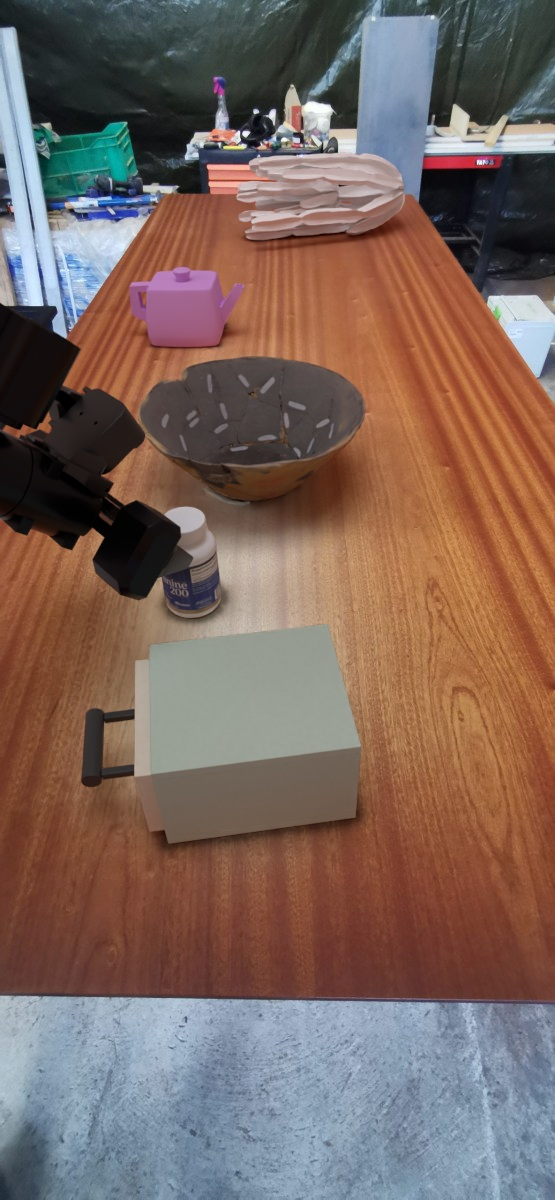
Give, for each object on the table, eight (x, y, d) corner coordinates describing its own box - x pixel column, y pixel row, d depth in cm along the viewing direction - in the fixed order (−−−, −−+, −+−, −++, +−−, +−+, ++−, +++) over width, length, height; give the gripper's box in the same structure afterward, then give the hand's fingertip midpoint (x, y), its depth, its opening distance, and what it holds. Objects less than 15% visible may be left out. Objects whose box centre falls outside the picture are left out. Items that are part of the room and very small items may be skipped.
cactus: (388, 163, 160) (228, 171, 157) (414, 123, 143) (235, 131, 139) (394, 246, 163) (237, 256, 159) (420, 217, 146) (244, 227, 142)
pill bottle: (155, 600, 72) (139, 518, 65) (199, 575, 74) (188, 494, 68) (188, 628, 69) (175, 546, 62) (233, 601, 71) (225, 519, 65)
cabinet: (168, 844, 52) (150, 774, 47) (164, 716, 61) (149, 644, 55) (355, 818, 53) (361, 746, 48) (326, 696, 62) (328, 623, 56)
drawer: (90, 840, 52) (69, 785, 47) (97, 723, 59) (79, 666, 55) (323, 808, 53) (324, 751, 49) (300, 698, 61) (299, 640, 56)
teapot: (249, 322, 122) (246, 256, 115) (243, 349, 114) (239, 280, 107) (142, 322, 123) (132, 257, 116) (129, 348, 115) (117, 281, 108)
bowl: (324, 566, 75) (325, 483, 68) (110, 521, 81) (93, 441, 75) (385, 443, 92) (391, 367, 85) (205, 415, 99) (197, 342, 92)
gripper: (138, 422, 45) (277, 501, 57) (-2, 334, 55) (142, 418, 68) (51, 578, 46) (206, 622, 59) (-69, 464, 57) (85, 522, 69)
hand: (157, 537), depth 64 cm, fingers open, 9 cm apart
